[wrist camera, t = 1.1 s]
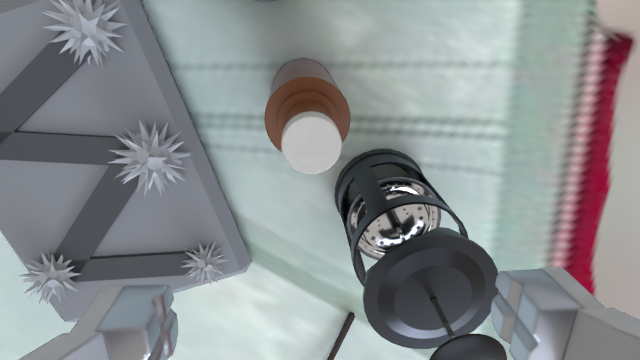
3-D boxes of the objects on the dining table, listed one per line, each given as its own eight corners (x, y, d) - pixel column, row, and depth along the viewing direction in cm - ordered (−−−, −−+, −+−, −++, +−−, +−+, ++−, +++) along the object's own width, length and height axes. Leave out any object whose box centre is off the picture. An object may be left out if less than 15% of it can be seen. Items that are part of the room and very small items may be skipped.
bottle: (333, 57, 37) (366, 91, 21) (332, 118, 39) (362, 193, 23) (271, 58, 37) (254, 93, 20) (274, 120, 39) (261, 196, 22)
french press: (312, 178, 41) (335, 353, 20) (391, 124, 40) (507, 252, 18) (374, 257, 45) (449, 474, 24) (448, 211, 44) (598, 399, 22)
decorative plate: (-112, 43, 34) (-208, 49, 28) (129, -38, 33) (88, -51, 27) (72, 315, 45) (35, 366, 39) (256, 261, 44) (249, 304, 38)
